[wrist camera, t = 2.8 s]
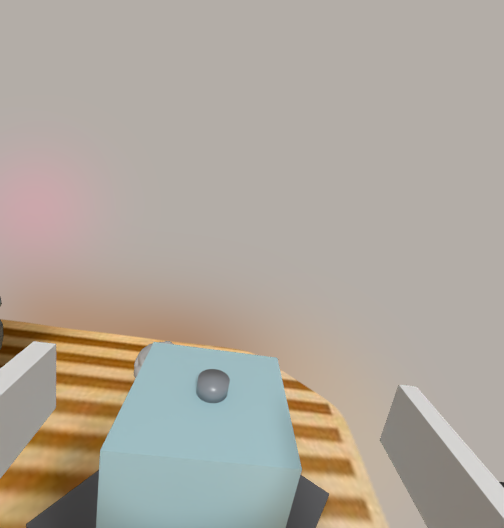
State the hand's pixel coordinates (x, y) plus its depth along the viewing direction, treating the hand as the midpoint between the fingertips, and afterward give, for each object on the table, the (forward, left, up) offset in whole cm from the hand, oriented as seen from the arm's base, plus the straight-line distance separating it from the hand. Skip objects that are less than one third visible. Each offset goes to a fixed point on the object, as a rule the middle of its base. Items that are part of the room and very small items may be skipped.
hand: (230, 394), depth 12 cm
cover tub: (-6, +8, -18) cm, 21 cm away
